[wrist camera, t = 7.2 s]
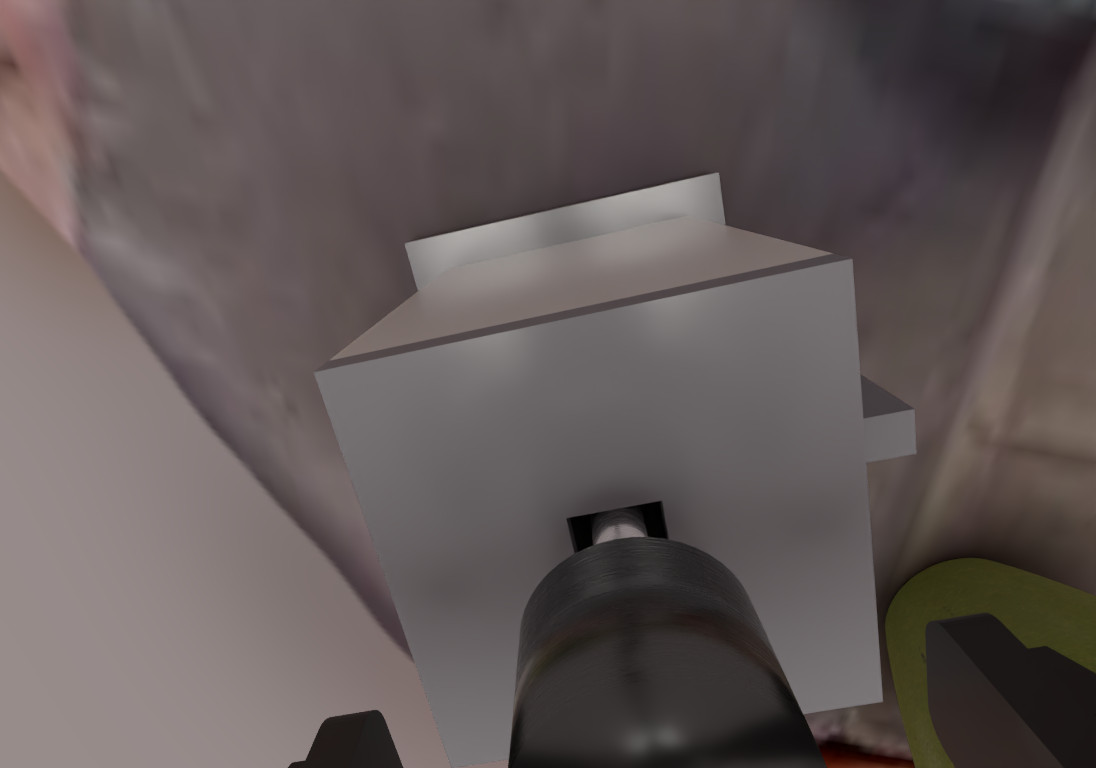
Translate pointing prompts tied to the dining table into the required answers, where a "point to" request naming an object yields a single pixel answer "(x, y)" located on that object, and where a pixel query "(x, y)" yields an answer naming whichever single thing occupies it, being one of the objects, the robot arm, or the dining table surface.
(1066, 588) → the flower pot
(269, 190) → the dining table surface
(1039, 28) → the dining table surface
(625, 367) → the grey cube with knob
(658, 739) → the plunger
